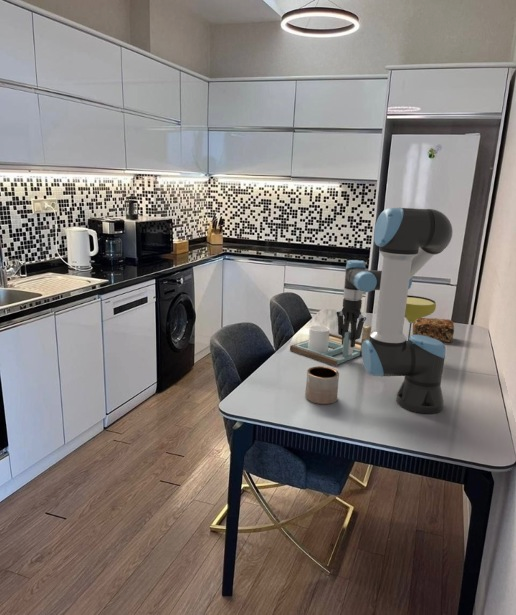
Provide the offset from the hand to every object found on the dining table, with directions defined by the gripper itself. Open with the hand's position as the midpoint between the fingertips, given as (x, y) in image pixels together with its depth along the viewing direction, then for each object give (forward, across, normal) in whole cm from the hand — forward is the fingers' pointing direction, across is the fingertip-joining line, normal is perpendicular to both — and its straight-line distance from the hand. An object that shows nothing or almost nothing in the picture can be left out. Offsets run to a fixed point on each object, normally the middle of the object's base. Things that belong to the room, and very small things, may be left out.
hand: (347, 353), depth 199 cm
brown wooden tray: (+3, +11, -4) cm, 12 cm away
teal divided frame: (+3, +10, 0) cm, 11 cm away
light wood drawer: (+3, +10, -14) cm, 18 cm away
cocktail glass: (+3, -14, -25) cm, 29 cm away
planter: (+3, -15, +39) cm, 42 cm away
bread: (+3, -10, -59) cm, 60 cm away
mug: (+3, +14, 0) cm, 14 cm away
